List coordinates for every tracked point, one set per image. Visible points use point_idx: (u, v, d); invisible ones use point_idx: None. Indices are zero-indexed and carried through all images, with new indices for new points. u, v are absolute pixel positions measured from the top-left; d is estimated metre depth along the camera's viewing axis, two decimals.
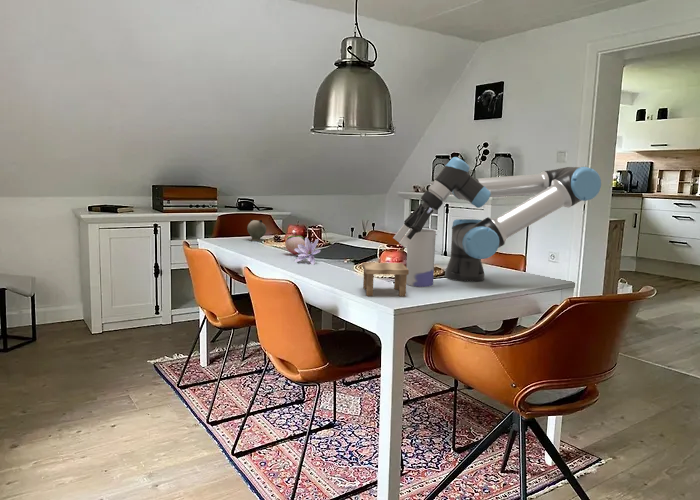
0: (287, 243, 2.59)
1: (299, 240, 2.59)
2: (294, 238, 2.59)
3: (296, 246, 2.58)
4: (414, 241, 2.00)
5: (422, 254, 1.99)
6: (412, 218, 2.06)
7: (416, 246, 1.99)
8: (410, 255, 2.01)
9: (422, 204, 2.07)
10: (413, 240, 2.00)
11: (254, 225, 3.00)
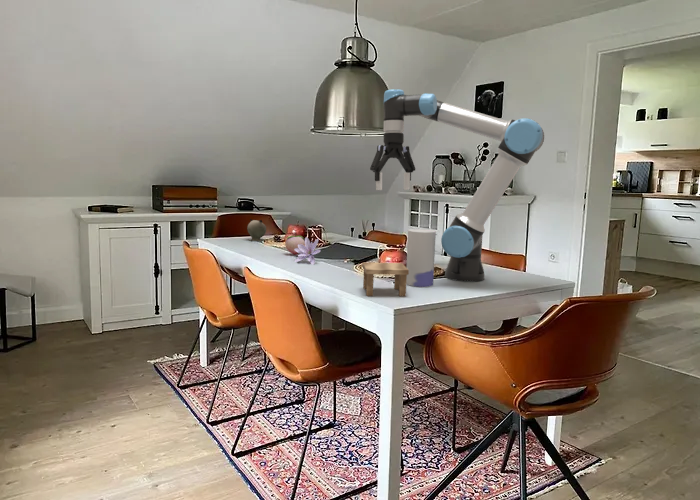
0: (287, 243, 2.59)
1: (299, 240, 2.59)
2: (294, 238, 2.59)
3: (296, 246, 2.58)
4: (414, 241, 2.00)
5: (422, 254, 1.99)
6: (401, 163, 2.14)
7: (416, 246, 1.99)
8: (410, 255, 2.01)
9: (405, 146, 2.14)
10: (413, 240, 2.00)
11: (254, 225, 3.00)
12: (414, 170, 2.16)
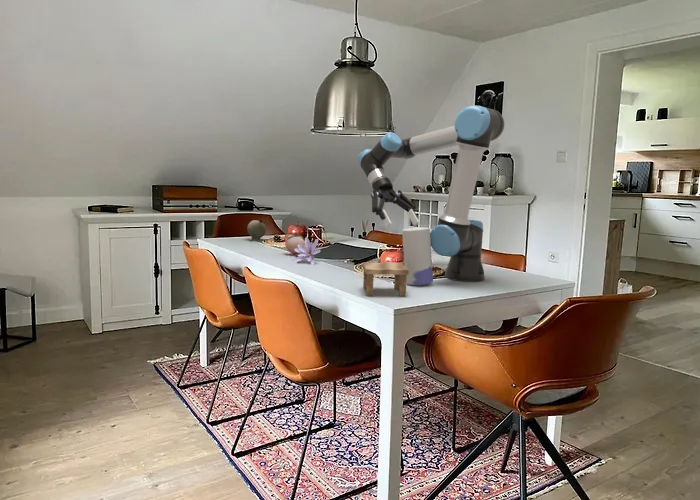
0: (287, 243, 2.59)
1: (299, 240, 2.59)
2: (294, 238, 2.59)
3: (296, 246, 2.58)
4: (408, 240, 2.00)
5: (418, 252, 2.00)
6: (400, 205, 2.19)
7: (412, 244, 2.00)
8: (407, 254, 2.02)
9: None
10: (408, 238, 2.00)
11: (254, 225, 3.00)
12: (415, 207, 2.19)
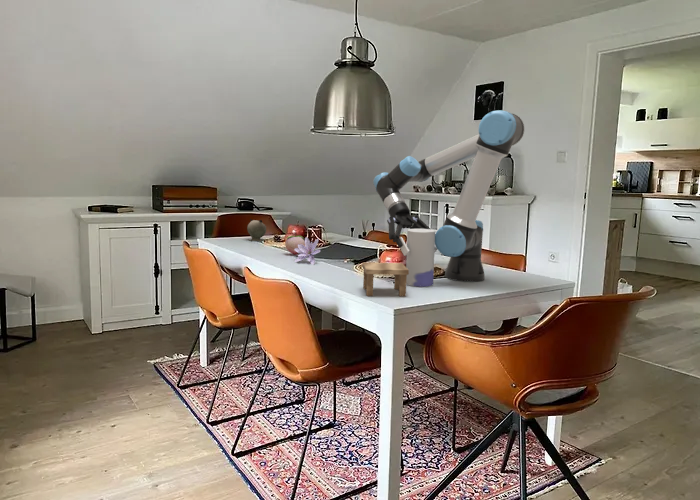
0: (287, 243, 2.59)
1: (299, 240, 2.59)
2: (294, 238, 2.59)
3: (296, 246, 2.58)
4: (413, 241, 1.99)
5: (422, 254, 1.99)
6: None
7: (416, 246, 1.99)
8: (410, 255, 2.01)
9: None
10: (413, 240, 1.99)
11: (254, 225, 3.00)
12: None
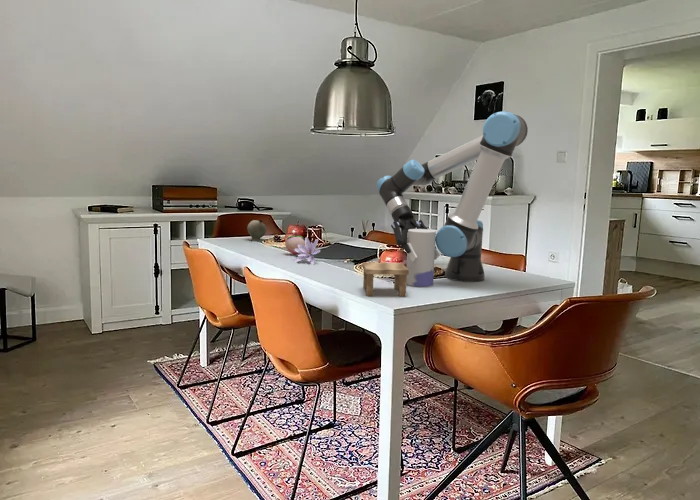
0: (287, 243, 2.59)
1: (299, 240, 2.59)
2: (294, 238, 2.59)
3: (296, 246, 2.58)
4: (413, 241, 2.00)
5: (422, 254, 1.99)
6: None
7: (416, 246, 1.99)
8: None
9: None
10: (413, 240, 2.00)
11: (254, 225, 3.00)
12: None
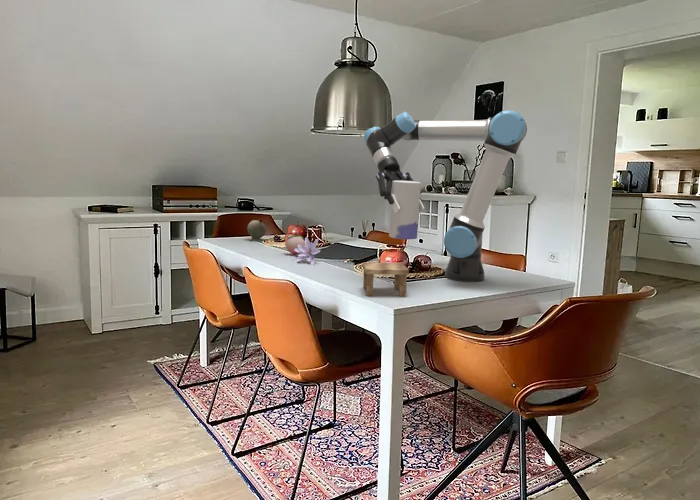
0: (287, 243, 2.59)
1: (299, 240, 2.59)
2: (294, 238, 2.59)
3: (296, 246, 2.58)
4: (397, 191, 1.94)
5: (405, 205, 1.93)
6: None
7: (400, 197, 1.93)
8: None
9: None
10: (397, 190, 1.94)
11: (254, 225, 3.00)
12: (421, 192, 2.03)
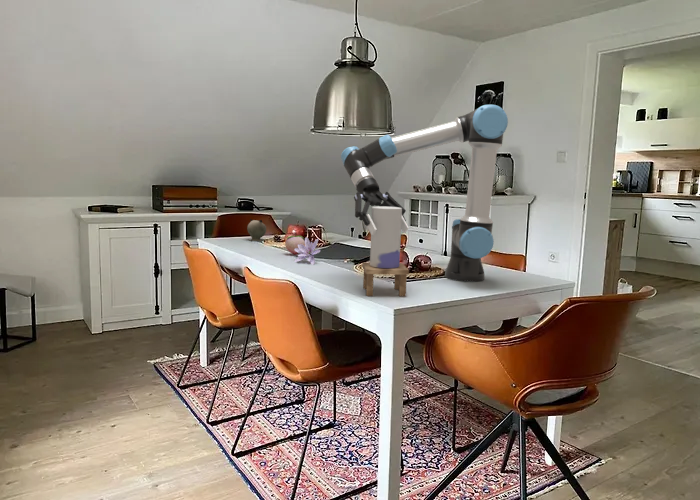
0: (287, 243, 2.59)
1: (299, 240, 2.59)
2: (294, 238, 2.59)
3: (296, 246, 2.58)
4: (377, 218, 1.84)
5: (386, 232, 1.83)
6: None
7: (380, 224, 1.84)
8: (374, 234, 1.86)
9: None
10: (377, 217, 1.84)
11: (254, 225, 3.00)
12: (405, 211, 1.94)
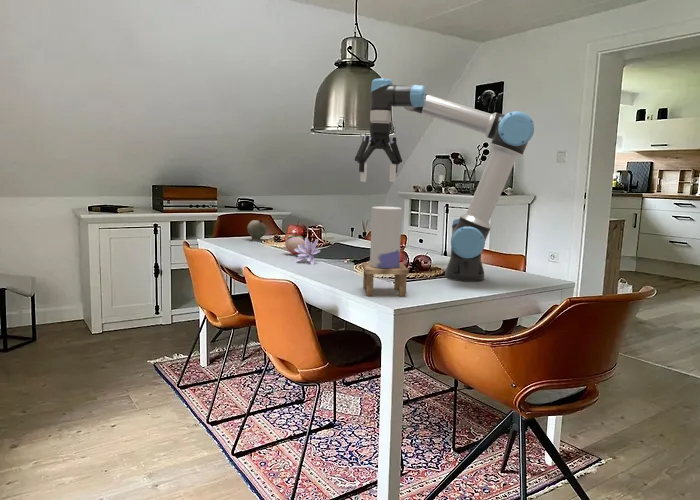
0: (287, 243, 2.59)
1: (299, 240, 2.59)
2: (294, 238, 2.59)
3: (296, 246, 2.58)
4: (377, 218, 1.84)
5: (386, 233, 1.83)
6: (387, 154, 2.09)
7: (380, 224, 1.83)
8: (374, 234, 1.86)
9: (392, 137, 2.09)
10: (377, 217, 1.84)
11: (254, 225, 3.00)
12: None
